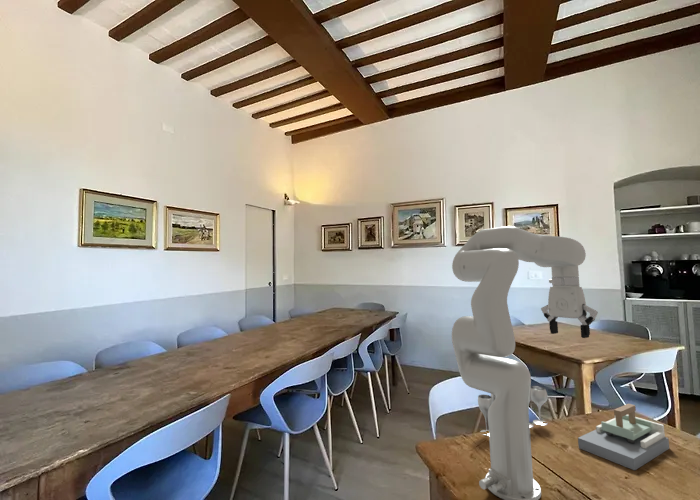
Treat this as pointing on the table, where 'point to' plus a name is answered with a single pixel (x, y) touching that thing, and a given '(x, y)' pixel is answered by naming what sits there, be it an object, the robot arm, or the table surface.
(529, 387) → the robot arm
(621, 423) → the mint green tray
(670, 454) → the table surface
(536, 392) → the goblet set
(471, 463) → the table surface
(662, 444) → the dock
